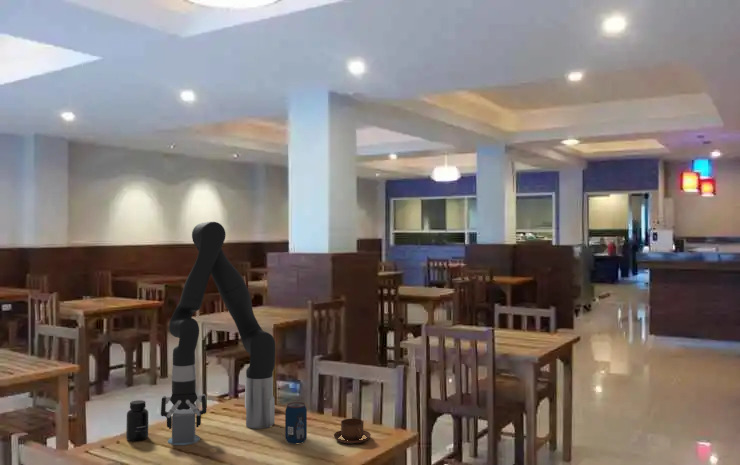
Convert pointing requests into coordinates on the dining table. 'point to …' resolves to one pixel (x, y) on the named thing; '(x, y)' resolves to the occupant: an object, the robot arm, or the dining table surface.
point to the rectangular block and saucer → (352, 431)
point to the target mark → (184, 443)
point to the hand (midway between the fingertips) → (183, 427)
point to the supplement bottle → (137, 421)
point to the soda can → (296, 422)
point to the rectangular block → (183, 426)
